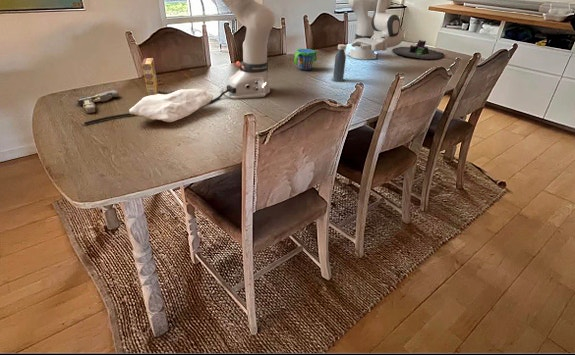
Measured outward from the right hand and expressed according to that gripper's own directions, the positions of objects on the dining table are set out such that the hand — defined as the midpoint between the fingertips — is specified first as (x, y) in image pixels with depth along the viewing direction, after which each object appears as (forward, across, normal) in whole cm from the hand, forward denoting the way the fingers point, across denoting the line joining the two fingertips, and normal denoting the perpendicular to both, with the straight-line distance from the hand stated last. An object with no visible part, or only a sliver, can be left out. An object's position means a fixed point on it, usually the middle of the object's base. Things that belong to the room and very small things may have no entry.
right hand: (356, 46), depth 203 cm
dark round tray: (-65, -23, +20) cm, 72 cm away
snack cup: (+27, -13, +10) cm, 31 cm away
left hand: (+31, +14, -37) cm, 50 cm away
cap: (+17, +12, -5) cm, 21 cm away
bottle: (+19, +10, +12) cm, 25 cm away
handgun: (+134, +7, -1) cm, 134 cm away
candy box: (+112, +2, +1) cm, 113 cm away
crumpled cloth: (+108, +28, +3) cm, 112 cm away
